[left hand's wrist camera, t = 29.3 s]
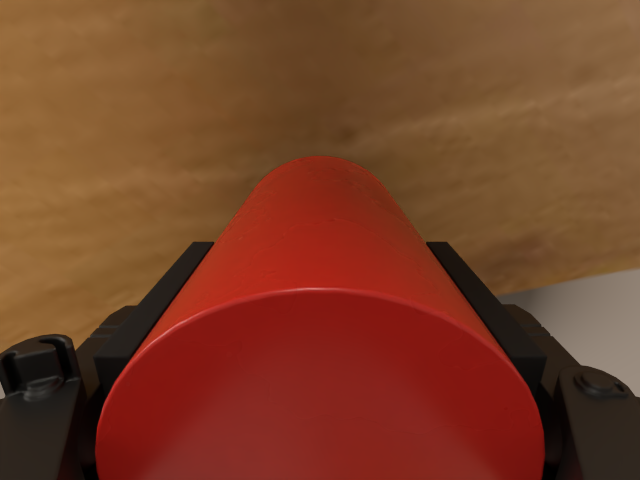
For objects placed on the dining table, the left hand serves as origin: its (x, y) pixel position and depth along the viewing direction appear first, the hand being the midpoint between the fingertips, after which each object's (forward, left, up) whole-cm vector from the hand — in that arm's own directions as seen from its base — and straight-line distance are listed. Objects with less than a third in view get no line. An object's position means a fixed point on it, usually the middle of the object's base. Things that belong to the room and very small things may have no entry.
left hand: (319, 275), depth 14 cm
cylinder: (0, 0, -5) cm, 5 cm away
